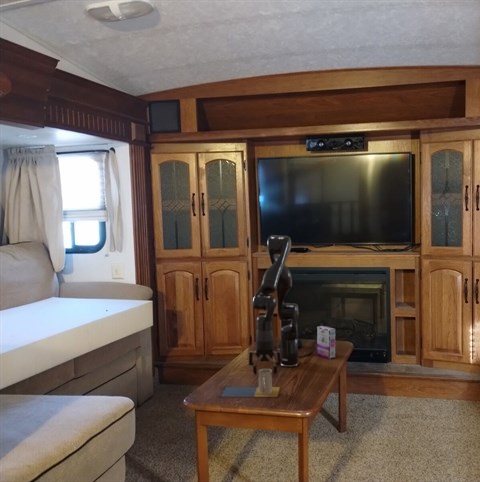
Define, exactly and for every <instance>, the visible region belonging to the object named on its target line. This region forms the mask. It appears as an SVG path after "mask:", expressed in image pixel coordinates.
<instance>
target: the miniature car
mask: <svg viewBox="0 0 480 482" xmlns="http://www.w3.org/2000/svg"><path fill="white" fill-rule="evenodd" d="M302 346H303V341H302V339H301V338H298V348H302ZM278 351H280V352H281V338H280V339H279V342H278V344H277V348H276V352H278Z"/></svg>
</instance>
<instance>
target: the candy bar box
mask: <svg viewBox="0 0 480 482" xmlns="http://www.w3.org/2000/svg"><path fill="white" fill-rule="evenodd" d="M336 337H337V336H336V328H333V327H330V326H327V325H320V326H317V327H316V340H317V342H316V355H317V356H320V357H323V358H326V359H329V360H330V359H334V358H336V354H337V353H336V339H337V338H336Z"/></svg>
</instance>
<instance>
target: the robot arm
mask: <svg viewBox="0 0 480 482" xmlns="http://www.w3.org/2000/svg"><path fill="white" fill-rule="evenodd" d="M291 249H292V238H291V237H290V236H288V235H276V234H271V235H269V236H268V238H267V251H268V256H269V260H270V264H271V265H270V266H269V267H268V268H267V269H266V271H265V272H264V274H263V278H262V281H261V285H260V287H259V288H258V290H257V291H256V292H255V294H254V296H253V298H252V304H251V305H252V308H253V309H254V310H256V311H265V312H266V313H265V314H261V315H259V316H257V317H256V332H255V333H256V336H255V339H256V340H255V341H256V343H255V344H256V351H254V350H250V351H249V356H248V365H249V366H251V367H252V373H253V374H254V375H258V365H257V364H259V362H261V363H262V362H270V363H271V364H272V366H273V375H276V374H278V366H281V367H285V368H293V367H298V365H299V358H305V357H308V356H309V355H311V354H312V353H313V352H314V344H315V343H317V339H316V340H314V341H313V342H312V344H311V351H310V352H308V353H306V354H305V355H299V347H298V339H299V305H298V303H295V302H294V303H293V302H285V298H286V296H287V295H288V294H289V292H290V291H291V289H292V287H293V279H292V273H291V271H290V269H289V268H288V266H287V265H286V263H287V260H288V257H289V255H290V252H291ZM273 293H275V296H276V297H275V296H274V295H272V294H273ZM276 308H277V310H276ZM275 310H276V311H277V317H278V319H279V321H285V322H286V321H288V322H291V323H289V324H287V325H284V326H281V328H280V339H281V351H275V350H274V329H273V325H274V324H273V320H274V315H275ZM255 356H256V359H255V361H254V360H253V359H254V357H255ZM274 356H275V357H276V358H277V361H276V359H275V357H274Z"/></svg>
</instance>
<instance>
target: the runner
mask: <svg viewBox="0 0 480 482" xmlns="http://www.w3.org/2000/svg"><path fill="white" fill-rule="evenodd" d="M280 388H281V387H280V386H272V392H271V393H270V394H260V393H259V386H225V388H224V390H223V392H222V394H221V395H220V397H221V398H222V397H224V398H233V397H234V398H249V397H250V398H269V397H270V398H277V397H278V396H279V393H280Z"/></svg>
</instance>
